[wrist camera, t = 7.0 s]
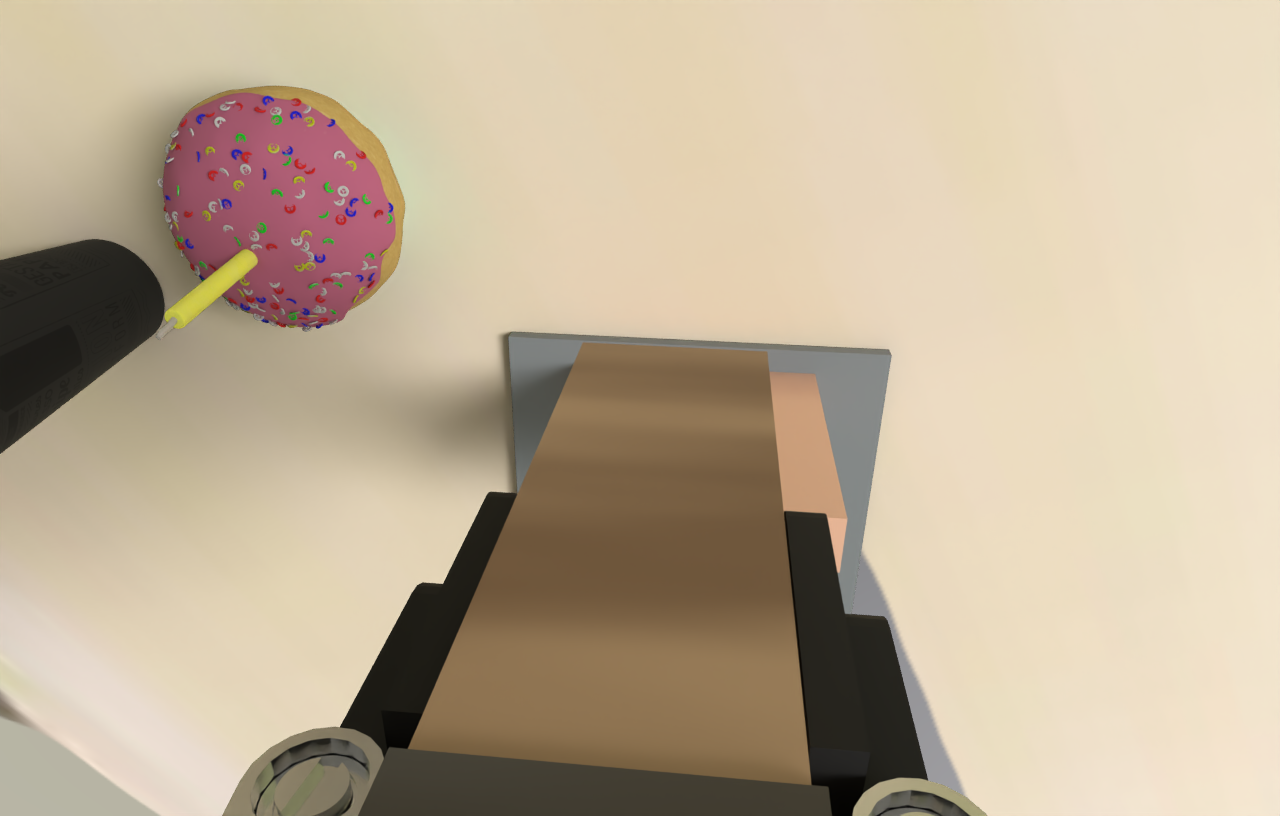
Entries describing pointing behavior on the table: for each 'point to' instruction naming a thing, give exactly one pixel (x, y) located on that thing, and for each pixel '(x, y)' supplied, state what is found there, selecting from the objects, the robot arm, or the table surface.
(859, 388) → the mat
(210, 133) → the cupcake
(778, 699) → the banded brown box
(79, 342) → the drinking cup
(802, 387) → the tile
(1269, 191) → the table surface
